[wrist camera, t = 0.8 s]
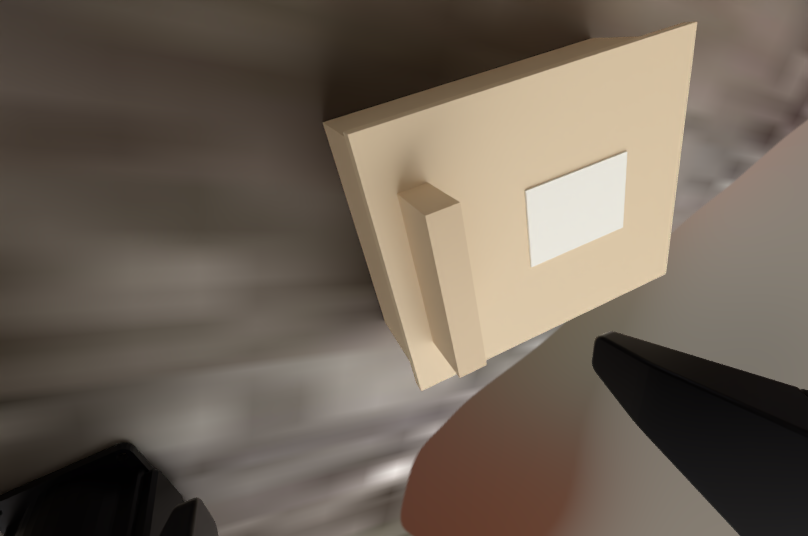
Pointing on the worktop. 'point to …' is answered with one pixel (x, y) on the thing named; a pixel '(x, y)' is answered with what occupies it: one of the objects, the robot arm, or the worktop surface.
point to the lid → (526, 198)
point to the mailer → (410, 102)
